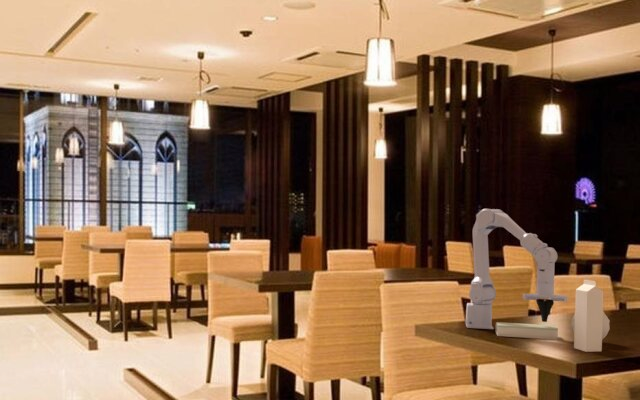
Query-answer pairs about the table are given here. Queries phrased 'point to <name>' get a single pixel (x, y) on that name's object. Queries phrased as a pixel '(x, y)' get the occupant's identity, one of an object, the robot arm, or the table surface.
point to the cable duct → (527, 333)
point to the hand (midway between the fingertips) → (544, 321)
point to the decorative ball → (604, 326)
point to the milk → (588, 317)
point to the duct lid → (526, 326)
